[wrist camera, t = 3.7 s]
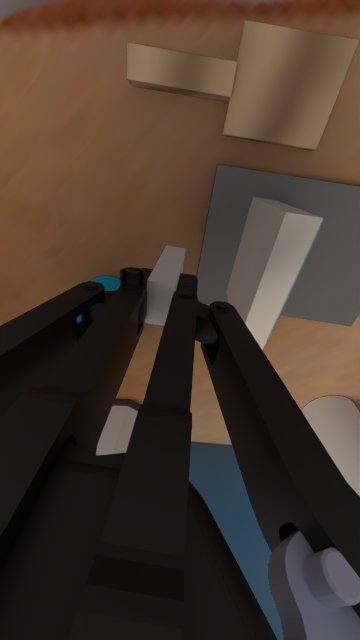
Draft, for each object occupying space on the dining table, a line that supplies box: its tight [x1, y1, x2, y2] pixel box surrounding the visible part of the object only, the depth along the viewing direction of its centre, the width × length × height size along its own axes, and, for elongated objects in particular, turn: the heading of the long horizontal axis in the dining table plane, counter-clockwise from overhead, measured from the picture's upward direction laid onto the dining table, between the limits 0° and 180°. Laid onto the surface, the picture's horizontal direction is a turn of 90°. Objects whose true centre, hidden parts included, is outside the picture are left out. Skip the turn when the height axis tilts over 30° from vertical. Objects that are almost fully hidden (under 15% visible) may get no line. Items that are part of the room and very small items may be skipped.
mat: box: [197, 164, 360, 326], centre depth 24 cm, size 20×14×1 cm
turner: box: [127, 20, 359, 151], centre depth 17 cm, size 16×6×2 cm, turn 82°
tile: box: [226, 197, 323, 349], centre depth 19 cm, size 2×10×10 cm, turn 173°
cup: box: [302, 396, 360, 496], centre depth 32 cm, size 8×8×16 cm
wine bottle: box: [96, 399, 140, 455], centre depth 32 cm, size 8×8×30 cm
